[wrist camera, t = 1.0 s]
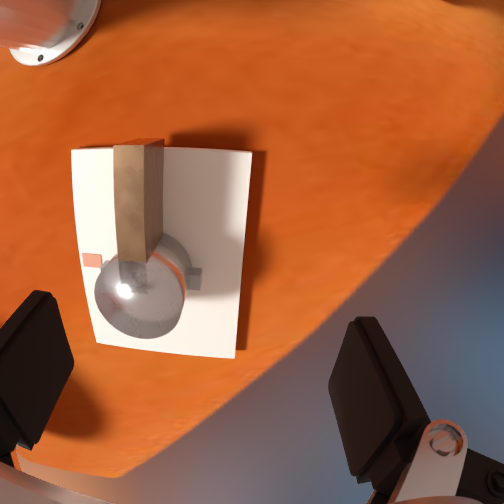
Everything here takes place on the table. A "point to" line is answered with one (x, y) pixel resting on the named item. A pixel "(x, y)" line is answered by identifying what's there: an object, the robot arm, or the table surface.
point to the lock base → (184, 231)
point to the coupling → (143, 249)
